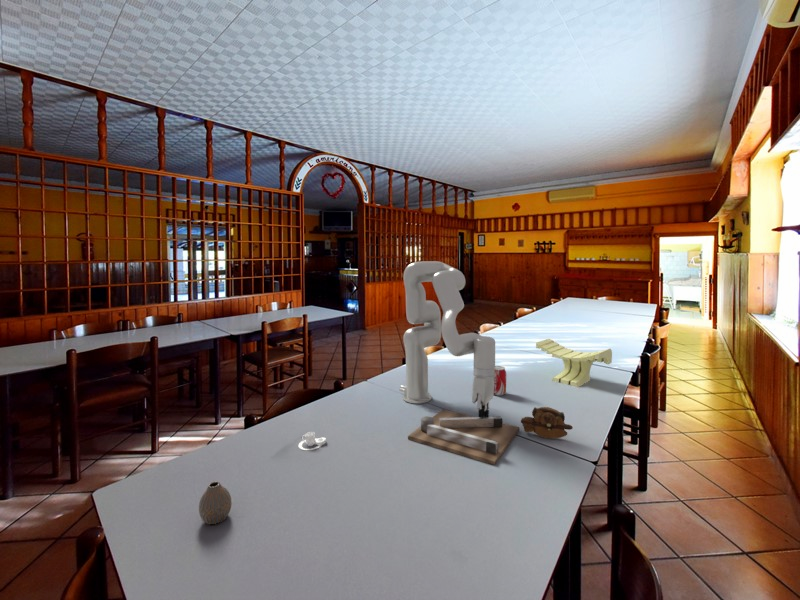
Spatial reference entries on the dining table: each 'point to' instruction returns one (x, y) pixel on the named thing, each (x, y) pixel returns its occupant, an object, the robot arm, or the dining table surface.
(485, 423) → the bar
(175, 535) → the dining table surface
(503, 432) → the tong board
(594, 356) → the slatted curved stool
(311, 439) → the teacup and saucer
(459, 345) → the robot arm
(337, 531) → the dining table surface
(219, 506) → the vase
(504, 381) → the soda can
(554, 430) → the wooden carving
